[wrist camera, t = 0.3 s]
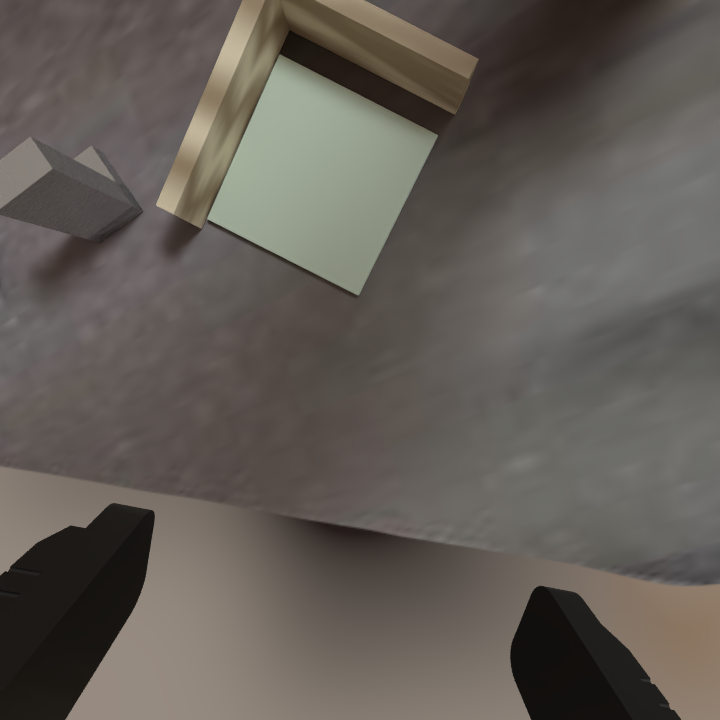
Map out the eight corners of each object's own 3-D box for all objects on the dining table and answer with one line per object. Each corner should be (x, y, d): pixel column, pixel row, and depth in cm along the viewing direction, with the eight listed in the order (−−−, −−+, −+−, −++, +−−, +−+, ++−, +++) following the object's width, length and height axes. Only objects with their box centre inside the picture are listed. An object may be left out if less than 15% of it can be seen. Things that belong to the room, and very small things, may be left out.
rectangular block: (143, 211, 35) (52, 168, 26) (100, 242, 36) (-6, 213, 26) (104, 153, 35) (-4, 87, 25) (61, 186, 36) (-62, 134, 26)
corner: (281, 4, 33) (264, -51, 28) (463, 98, 33) (478, 59, 28) (186, 221, 35) (155, 205, 30) (358, 308, 36) (355, 306, 31)
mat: (280, 57, 34) (279, 54, 33) (437, 137, 34) (438, 135, 33) (208, 220, 35) (207, 218, 35) (358, 295, 35) (358, 295, 35)
